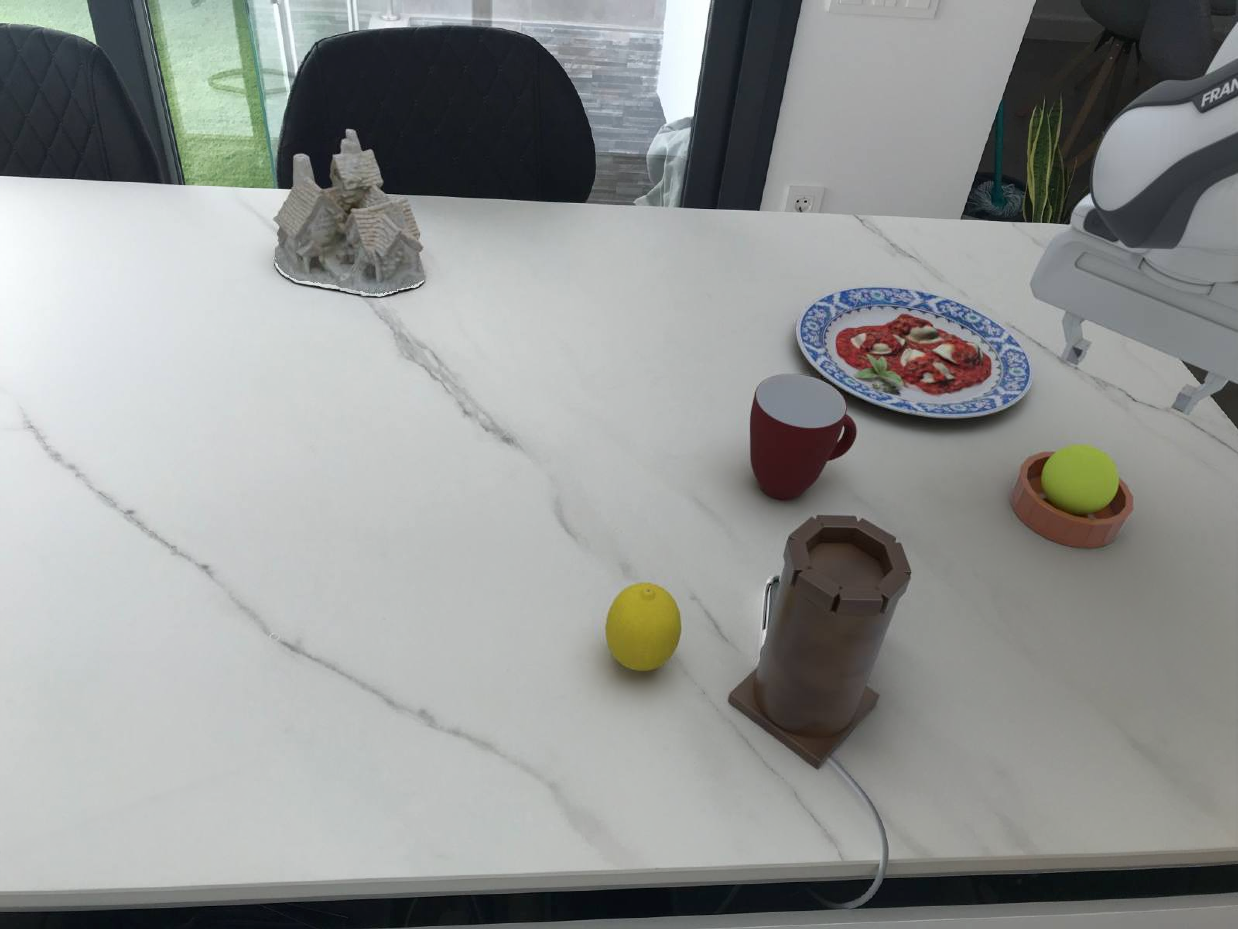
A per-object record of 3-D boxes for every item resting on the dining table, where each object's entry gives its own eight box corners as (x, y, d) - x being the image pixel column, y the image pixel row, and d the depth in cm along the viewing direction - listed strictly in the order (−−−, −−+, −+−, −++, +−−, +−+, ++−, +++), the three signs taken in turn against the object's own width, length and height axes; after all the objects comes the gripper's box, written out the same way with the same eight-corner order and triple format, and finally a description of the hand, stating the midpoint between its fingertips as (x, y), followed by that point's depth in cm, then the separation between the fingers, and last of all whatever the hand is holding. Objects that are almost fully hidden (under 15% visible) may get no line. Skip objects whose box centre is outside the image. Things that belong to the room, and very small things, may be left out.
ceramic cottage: (265, 246, 118) (251, 127, 108) (398, 231, 125) (396, 117, 115) (296, 318, 108) (284, 194, 98) (439, 297, 115) (441, 179, 105)
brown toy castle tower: (877, 703, 73) (934, 557, 63) (817, 769, 68) (869, 623, 58) (789, 642, 77) (830, 496, 67) (727, 701, 72) (761, 553, 62)
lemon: (678, 691, 72) (691, 620, 67) (604, 692, 72) (611, 620, 67) (670, 633, 77) (682, 562, 71) (600, 634, 76) (606, 562, 71)
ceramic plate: (904, 282, 123) (910, 261, 121) (1075, 390, 107) (1086, 367, 105) (746, 333, 111) (750, 311, 109) (911, 462, 95) (920, 438, 93)
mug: (812, 444, 96) (834, 360, 90) (862, 495, 91) (889, 410, 84) (721, 470, 92) (737, 384, 86) (767, 525, 87) (788, 437, 80)
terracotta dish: (1136, 511, 92) (1150, 488, 90) (1095, 565, 86) (1108, 541, 84) (1036, 461, 97) (1047, 437, 95) (990, 508, 91) (1001, 484, 89)
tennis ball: (1113, 506, 91) (1141, 454, 87) (1086, 539, 88) (1114, 486, 83) (1048, 473, 94) (1072, 421, 90) (1019, 504, 91) (1043, 451, 87)
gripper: (1362, 273, 70) (1266, 425, 79) (1087, 177, 80) (1029, 321, 89) (1341, 303, 66) (1243, 459, 75) (1055, 198, 76) (998, 347, 85)
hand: (1125, 383), depth 82 cm, fingers open, 8 cm apart
